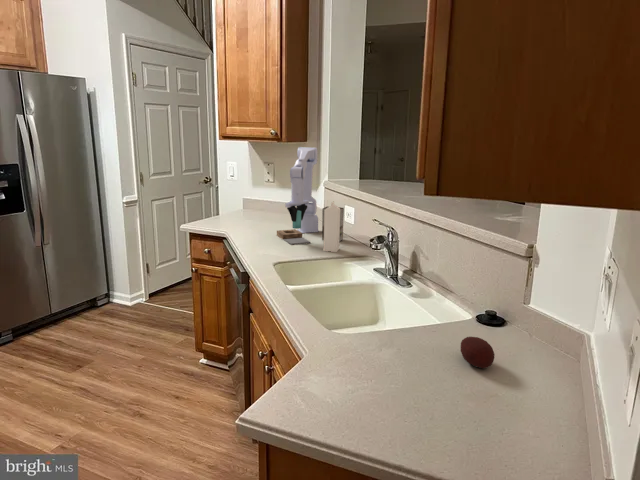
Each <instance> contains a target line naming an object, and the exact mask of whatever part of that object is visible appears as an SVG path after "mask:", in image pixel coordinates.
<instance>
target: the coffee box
mask: <svg viewBox="0 0 640 480" xmlns="http://www.w3.org/2000/svg"><path fill="white" fill-rule="evenodd" d="M328 207H329V206H324V207H322V209H321V211H322V212H321V213H322V215H321V216H322V217H321V218H322V219H321V220H322V221H321V222H322V225H321V226H322V227H321V228H322V229H321V240H322V241H324V210H325V209H326V208H328ZM339 208H340V234H339V242H341V241H344V216H345V215H344V214H345V213H344V208H345V207H339Z"/></svg>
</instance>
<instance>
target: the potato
mask: <svg viewBox="0 0 640 480" xmlns="http://www.w3.org/2000/svg"><path fill="white" fill-rule="evenodd" d="M459 351H460V353H461V356H462V358H463V359H464V360H465V361H466V362H467V363H468V364H470V365H471V364H472V365H471V366H473V365H474V366H473V367H475V366H477V367H476V368H478V367H481V368H480V369H487V368H489V367H491V365H492V364H493V363H494V361H495V352H494V350H493V347H492V346H491V344H489V343H488V341H487V340H485V339H483V338H482V337H481V338H480V337H478V336H477V337H476V336H467V337H464V338H463V339H462V340H461V341H460V350H459Z"/></svg>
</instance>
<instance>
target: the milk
mask: <svg viewBox="0 0 640 480" xmlns="http://www.w3.org/2000/svg"><path fill="white" fill-rule="evenodd" d="M339 234H340V208H339V207H338V206H337V205H336V204H335V201H332V202H331V203H330V206H328V208H326V209H325V210H324V240H323V252H328V251H331V253H337V252H338V251H339V249H340V241H339Z"/></svg>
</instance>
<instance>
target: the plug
mask: <svg viewBox="0 0 640 480" xmlns="http://www.w3.org/2000/svg"><path fill="white" fill-rule="evenodd" d="M300 228H301V211H297V216H296V222H293V221H292V229H295V230H297V229H300Z"/></svg>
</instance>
